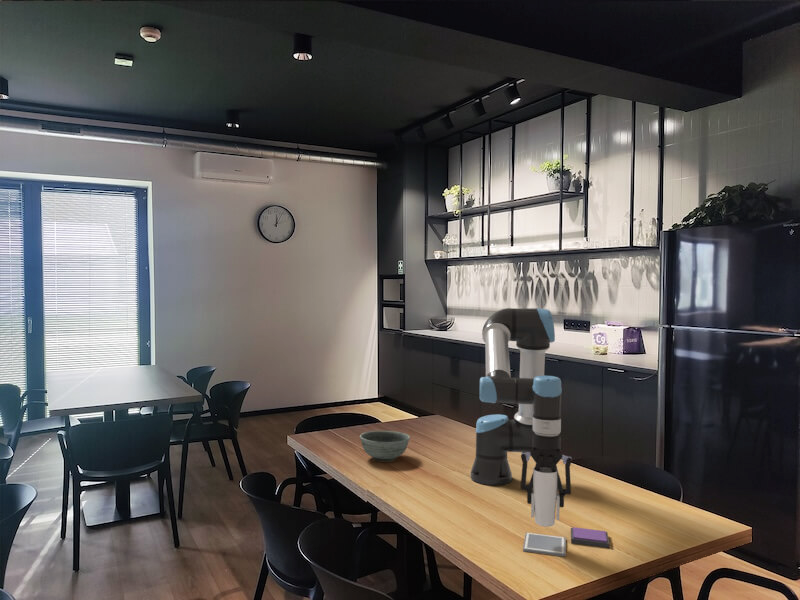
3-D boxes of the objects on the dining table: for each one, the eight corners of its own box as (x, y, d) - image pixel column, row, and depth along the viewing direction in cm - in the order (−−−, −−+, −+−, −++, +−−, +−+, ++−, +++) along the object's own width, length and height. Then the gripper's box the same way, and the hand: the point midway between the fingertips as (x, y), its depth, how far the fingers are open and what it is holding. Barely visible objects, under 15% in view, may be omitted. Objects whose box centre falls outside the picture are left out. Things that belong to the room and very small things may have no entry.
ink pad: (571, 543, 159) (571, 537, 159) (570, 531, 166) (570, 526, 166) (609, 548, 156) (609, 542, 156) (607, 536, 164) (607, 530, 164)
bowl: (350, 463, 230) (350, 438, 230) (372, 450, 249) (372, 427, 249) (398, 469, 222) (398, 444, 222) (417, 455, 241) (417, 432, 241)
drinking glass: (528, 518, 160) (529, 465, 160) (552, 518, 161) (553, 465, 160) (536, 528, 153) (537, 473, 153) (561, 528, 154) (561, 473, 154)
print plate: (522, 551, 154) (523, 548, 154) (525, 534, 164) (525, 532, 164) (565, 556, 151) (565, 554, 151) (565, 539, 161) (565, 537, 161)
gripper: (510, 433, 156) (509, 517, 156) (583, 439, 151) (581, 526, 151) (512, 427, 163) (511, 508, 163) (582, 432, 158) (581, 516, 158)
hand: (545, 516), depth 157 cm, fingers closed on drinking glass, 6 cm apart
